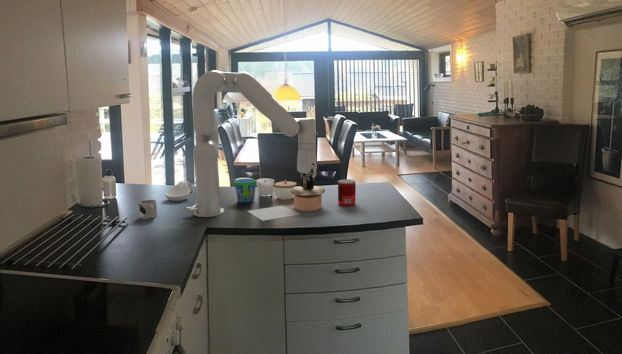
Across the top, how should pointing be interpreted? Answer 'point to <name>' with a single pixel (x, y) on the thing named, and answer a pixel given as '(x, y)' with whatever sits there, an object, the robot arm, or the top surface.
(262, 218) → the mat
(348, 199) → the canned food
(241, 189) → the snack cup
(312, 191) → the lid
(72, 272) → the top surface
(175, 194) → the spoon rest
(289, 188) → the lidded jar
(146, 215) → the mug
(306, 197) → the bowl
